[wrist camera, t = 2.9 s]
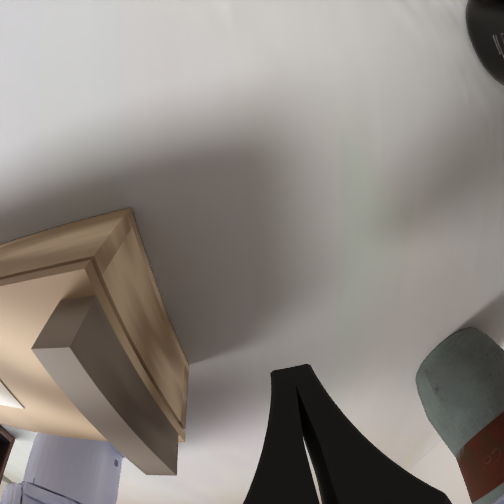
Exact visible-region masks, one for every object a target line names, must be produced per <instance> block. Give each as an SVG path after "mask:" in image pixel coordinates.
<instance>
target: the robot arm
mask: <svg viewBox="0 0 504 504" xmlns="http://www.w3.org/2000/svg"><path fill="white" fill-rule="evenodd" d="M270 374H271V406H270V413H269V420H268V427H267V432H266V436H265V441H264V445H263V449H262V453H261V457H260V460H259V463H258V467H257V470H256V473H255V476H254V478H253V481H252V484H251V486H250V489H249V491H248V494H247V496H246V499H245V501H244V503H243V504H319V500H318V496H317V493H316V489H315V485H314V481H313V478H312V474H311V470H310V466H309V462H308V458H307V454H306V451H305V446H304V441H305V444H306V447H307V450H308V453H309V456H310V459H311V462H312V465H313V467H314V471H315V474H316V478H317V482H318V486H319V491H320V495H321V500H322V504H452V503H451V501H450V500H449V498H448V497H447V496H446V494H445V493H443V492H442V491H440V490H438V489H436V488H434V487H432V486H430V485H428V484H427V483H425V482H423V481H421V480H420V479H418V478H416V477H415V476H413V475H412V474H410V473H409V472H407V471H406V470H404V469H403V468H402V467H400V466H399V465H397V464H396V463H395V462H393V461H392V460H391V459H389V458H388V457H387V456H386V455H384V454H383V453H382V452H381V451H380V450H379V449H377V448H376V447H375V446H374V445H373V444H372V443H371V442H370V441H369V440H368V439H366V438H365V437H364V436H363V435H362V434H361V433H360V432H359V430H358V429H357V428H356V427H355V426H354V425H353V424H352V423H351V422H350V421H349V420H348V418H347V417H346V416H345V415H344V414H343V413H342V411H341V410H340V409H339V408H338V406H337V405H336V404H335V403H334V401H333V400H332V399H331V397H330V396H329V395H328V393H327V392H326V390H325V389H324V387H323V386H322V384H321V383H320V381H319V380H318V378H317V376H316V375H315V373H314V371H313V369H312V367H311V365H309V364H304V365H300V366H295V367H290V368H285V369H280V370H274V371H272V372H271V373H270ZM303 438H304V441H303ZM123 457H125V456H124V455H123V454H122V453H120V452H119V451H118V450H117V449H116V448H115V447H114V446H113V445H112V444H111V443H110V442H109V441H99V440H88V439H79V438H71V437H63V436H57V435H51V434H45V433H39V432H37V434H36V437H35V440H34V443H33V447H32V450H31V453H30V456H29V460H28V463H27V467H26V470H25V474H24V478H23V481H22V483H19V484H17V483H16V482H13V483H12V484H8V485H7V486H6V488H5V490H4V493H3V496H2V499H1V503H0V504H116V501H117V495H118V487H119V479H120V472H121V465H122V458H123ZM125 458H126V457H125ZM491 504H504V495H502V496H501V497H500V498H498V499H497V500H496V501H494V502H493V503H491Z"/></svg>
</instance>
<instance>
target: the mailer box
mask: <svg viewBox="0 0 504 504" xmlns="http://www.w3.org/2000/svg"><path fill="white" fill-rule="evenodd" d="M88 260H91V261H92V263H93V266H94V268H95V271H96V273H97V275H98V278H99V280H100V282H101V285H102V287H103V289H104V291H105V294H106V296H107V298H108V300H109V302H110V305H111V307H112V309H113V311H114V313H115V315H116V317H117V319H118V321H119V323H120V325H121V327H122V329H123V331H124V333H125V335H126V337H127V339H128V341H129V343H130V345H131V346H132V348H133V350H134V352H135V354H136V356H137V357H138V359H139V361H140V363H141V364H142V366H143V368H144V370H145V371H146V373H147V375H148V377H149V378H150V380H151V382H152V383H153V385H154V387H155V388H156V390H157V391H158V393H159V395H160V396H161V398H162V399H163V401H164V403H165V404H166V406H167V407H168V409H169V410H170V412H171V413H172V415H173V416H174V418H175V419H176V421H177V422H178V424H179V425H180V427H181V428H182V429H185V424H186V405H187V388H188V373H189V364H188V362H187V360H186V357H185V355H184V353H183V350H182V348H181V346H180V343H179V341H178V338H177V336H176V334H175V331H174V329H173V326H172V324H171V321H170V319H169V316H168V314H167V311H166V309H165V306H164V303H163V301H162V298H161V295H160V293H159V290H158V287H157V284H156V282H155V279H154V276H153V273H152V270H151V267H150V265H149V262H148V259H147V256H146V253H145V250H144V247H143V244H142V241H141V237H140V234H139V231H138V228H137V225H136V221H135V218H134V215H133V211H132V208H131V207H130V208H126V209H122V210H118V211H114V212H110V213H106V214H102V215H98V216H95V217H91V218H87V219H83V220H80V221H76V222H73V223H69V224H65V225H62V226H59V227H55V228H52V229H48V230H45V231H42V232H38V233H35V234H32V235H29V236H26V237H22V238H19V239H16V240H13V241H10V242H7V243H4V244H1V245H0V280H2V279H6V278H10V277H15V276H19V275H23V274H28V273H32V272H37V271H41V270H46V269H50V268H55V267H60V266H64V265H69V264H73V263H78V262H83V261H88Z"/></svg>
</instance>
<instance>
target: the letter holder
mask: <svg viewBox="0 0 504 504" xmlns="http://www.w3.org/2000/svg"><path fill="white" fill-rule="evenodd" d="M14 442H15V438H13V437H12V436H11V435H10V434H9V433H8V432H7V431H6V430H4V429H3V428H2V427H1V426H0V484H1V480H2V477H3V473H4V470H5V467H6V464H7V461H8V458H9V455H10V452H11V449H12V447H13V444H14Z"/></svg>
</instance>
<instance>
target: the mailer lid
mask: <svg viewBox="0 0 504 504" xmlns="http://www.w3.org/2000/svg"><path fill="white" fill-rule="evenodd" d="M0 424H3V425H7V426H11V427H15V428H20V429H24V430H29V431H34V432H39V433H45V434H51V435H57V436H63V437H71V438H79V439H88V440H99V441H109V442H110V443H111V444H112V445H113V446H114V447H115V448H116V449H117V450H118V451H119V452H120V453H122V454H123V455H124V456H125V457H126V458H127V459H128V460H129V461H131V462H132V463H133V464H134V465H135V466H136V467H138V468H139V469H140V470H141V471H142V472H144V473H145V474H146V475H177V456H178V442H185V432H184V431H183V429H182V428H181V427H180V425H179V424H178V422H177V421H176V419H175V418H174V416H173V415H172V413H171V412H170V410H169V409H168V407H167V406H166V404H165V403H164V401H163V399H162V398H161V396H160V395H159V393H158V391H157V390H156V388H155V387H154V385H153V383H152V382H151V380H150V378H149V377H148V375H147V373H146V371H145V370H144V368H143V366H142V364H141V363H140V361H139V359H138V357H137V356H136V354H135V352H134V350H133V348H132V346H131V345H130V343H129V341H128V339H127V337H126V335H125V333H124V331H123V329H122V327H121V325H120V323H119V321H118V319H117V317H116V315H115V313H114V311H113V309H112V307H111V305H110V302H109V300H108V298H107V296H106V294H105V291H104V289H103V287H102V285H101V282H100V280H99V278H98V275H97V273H96V271H95V268H94V266H93V263H92V261H91V260H88V261H83V262H78V263H73V264H69V265H64V266H60V267H55V268H50V269H46V270H41V271H37V272H32V273H28V274H23V275H19V276H15V277H10V278H6V279H2V280H0Z"/></svg>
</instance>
